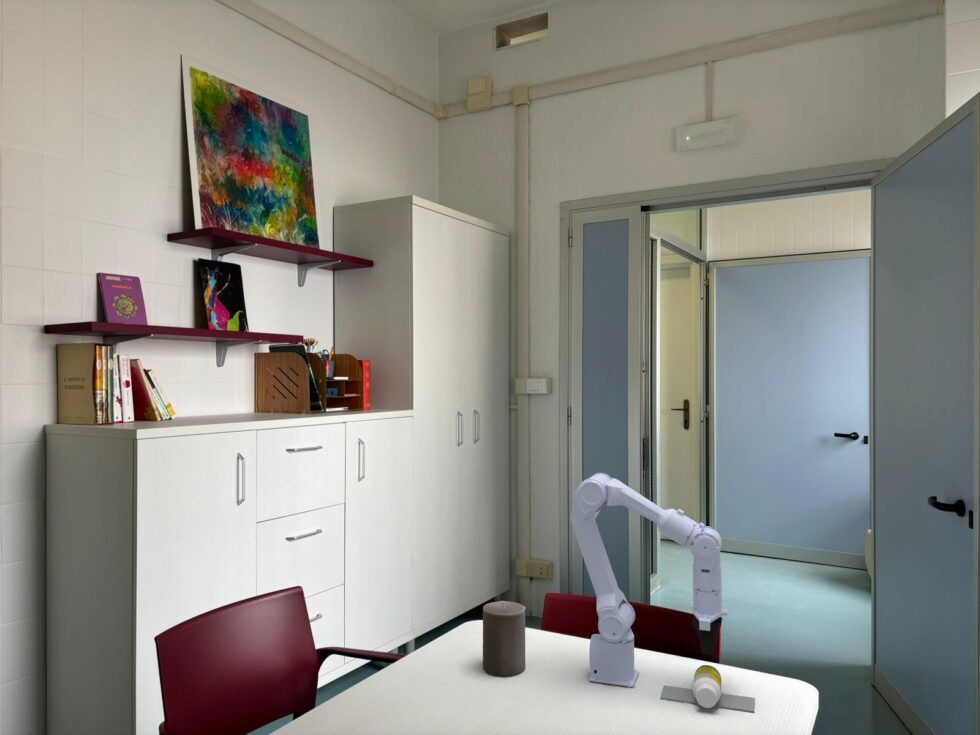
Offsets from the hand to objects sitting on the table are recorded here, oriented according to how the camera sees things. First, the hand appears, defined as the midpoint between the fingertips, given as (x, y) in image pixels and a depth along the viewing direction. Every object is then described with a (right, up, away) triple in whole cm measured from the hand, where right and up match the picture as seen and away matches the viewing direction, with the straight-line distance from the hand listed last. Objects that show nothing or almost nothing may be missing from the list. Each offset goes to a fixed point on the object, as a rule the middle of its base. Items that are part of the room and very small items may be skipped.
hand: (707, 653), depth 150 cm
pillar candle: (-42, -9, +13) cm, 45 cm away
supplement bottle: (0, -5, 0) cm, 5 cm away
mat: (-1, -8, -3) cm, 9 cm away
